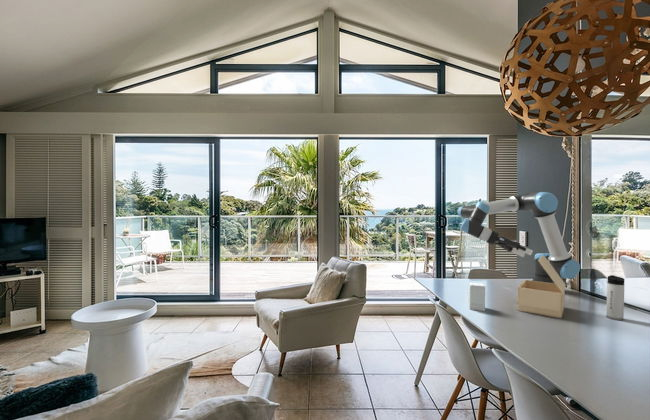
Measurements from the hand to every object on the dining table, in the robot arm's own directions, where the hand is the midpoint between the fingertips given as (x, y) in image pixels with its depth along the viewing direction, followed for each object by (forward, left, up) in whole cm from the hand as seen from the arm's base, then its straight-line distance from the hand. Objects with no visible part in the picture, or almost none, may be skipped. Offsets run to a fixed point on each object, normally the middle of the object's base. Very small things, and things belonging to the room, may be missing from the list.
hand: (528, 254), depth 184 cm
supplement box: (+32, -4, -27) cm, 42 cm away
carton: (+1, +9, -27) cm, 29 cm away
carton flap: (-1, +12, -8) cm, 15 cm away
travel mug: (-19, +31, -27) cm, 46 cm away
